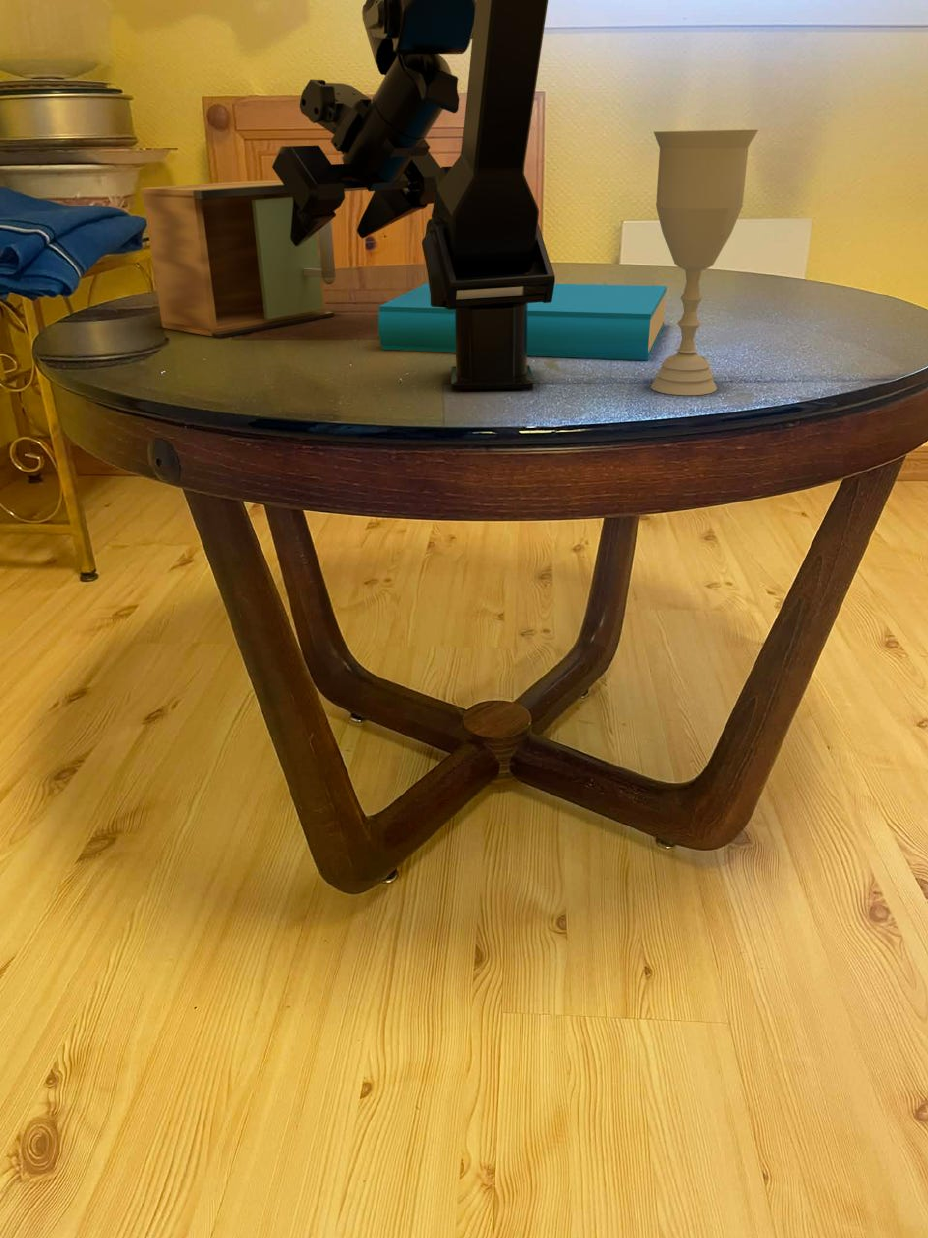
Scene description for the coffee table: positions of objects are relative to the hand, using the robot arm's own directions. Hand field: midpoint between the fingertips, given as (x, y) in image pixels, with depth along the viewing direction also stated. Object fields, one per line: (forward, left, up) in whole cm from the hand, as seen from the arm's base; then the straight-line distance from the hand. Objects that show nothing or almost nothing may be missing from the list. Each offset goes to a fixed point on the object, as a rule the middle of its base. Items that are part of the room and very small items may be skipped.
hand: (327, 238), depth 100 cm
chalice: (-30, -31, -9) cm, 44 cm away
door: (0, +3, -8) cm, 8 cm away
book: (-9, -20, -9) cm, 24 cm away
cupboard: (+3, +10, -8) cm, 13 cm away
